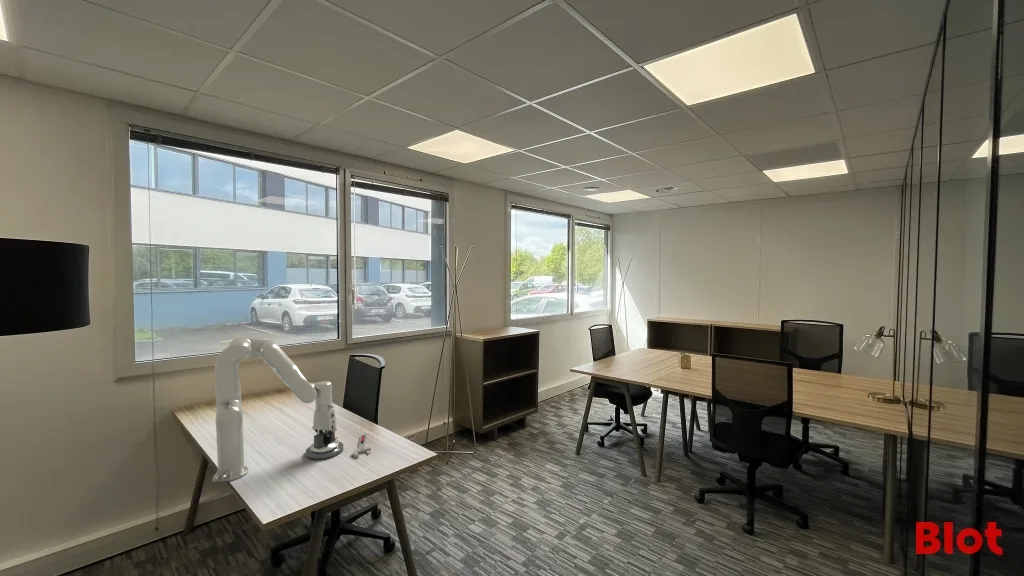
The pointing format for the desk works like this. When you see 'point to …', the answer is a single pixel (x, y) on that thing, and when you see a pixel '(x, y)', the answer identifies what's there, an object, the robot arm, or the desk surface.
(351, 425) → the desk surface
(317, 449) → the dial
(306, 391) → the robot arm
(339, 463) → the desk surface
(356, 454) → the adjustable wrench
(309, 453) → the dial base
